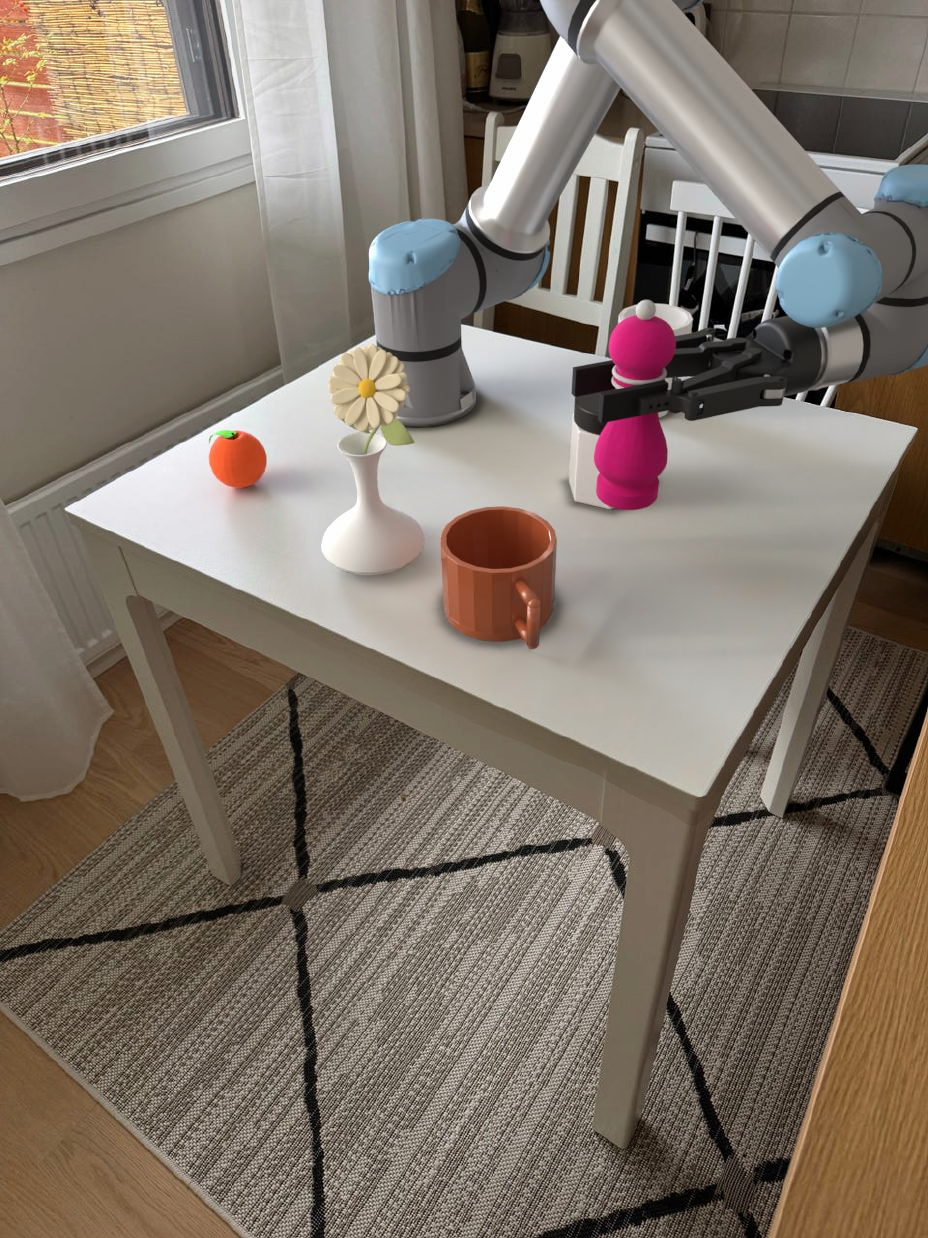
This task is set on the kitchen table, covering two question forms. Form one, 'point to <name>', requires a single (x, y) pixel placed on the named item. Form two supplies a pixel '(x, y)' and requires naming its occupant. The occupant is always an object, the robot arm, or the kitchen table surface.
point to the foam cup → (673, 316)
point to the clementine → (237, 458)
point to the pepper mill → (637, 443)
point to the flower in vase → (370, 465)
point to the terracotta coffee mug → (499, 574)
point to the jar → (585, 450)
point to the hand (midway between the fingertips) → (587, 394)
